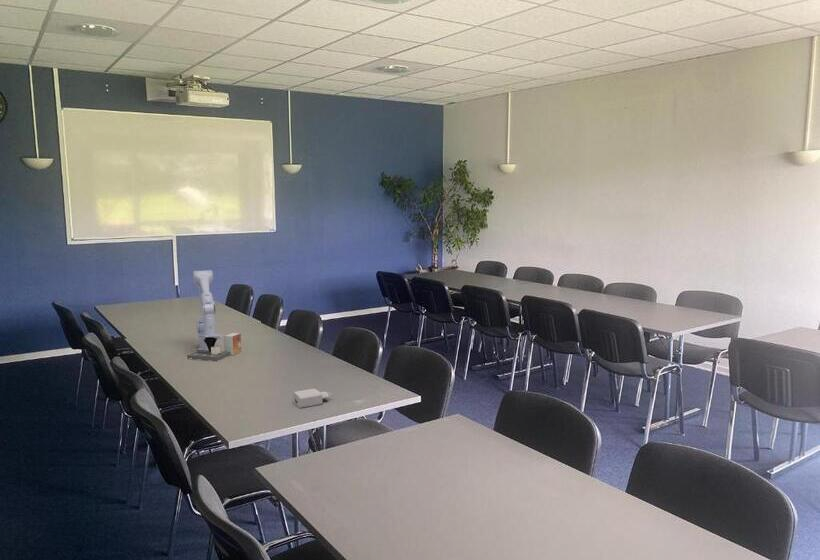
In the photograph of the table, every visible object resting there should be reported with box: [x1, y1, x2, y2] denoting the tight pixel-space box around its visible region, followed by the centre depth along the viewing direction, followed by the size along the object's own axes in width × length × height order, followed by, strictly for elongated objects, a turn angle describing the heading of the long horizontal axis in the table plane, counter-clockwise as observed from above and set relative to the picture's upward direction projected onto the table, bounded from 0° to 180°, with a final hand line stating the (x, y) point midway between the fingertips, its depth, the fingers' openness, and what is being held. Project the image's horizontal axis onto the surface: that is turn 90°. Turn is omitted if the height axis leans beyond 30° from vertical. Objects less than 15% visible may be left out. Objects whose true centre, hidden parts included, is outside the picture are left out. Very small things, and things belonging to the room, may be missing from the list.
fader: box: [211, 345, 222, 355], centre depth 314 cm, size 4×3×4 cm
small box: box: [223, 332, 242, 356], centre depth 323 cm, size 8×6×10 cm
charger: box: [292, 388, 333, 409], centre depth 244 cm, size 5×9×15 cm
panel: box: [186, 350, 231, 362], centre depth 316 cm, size 12×18×2 cm, turn 73°
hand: (211, 351), depth 315 cm, fingers closed
